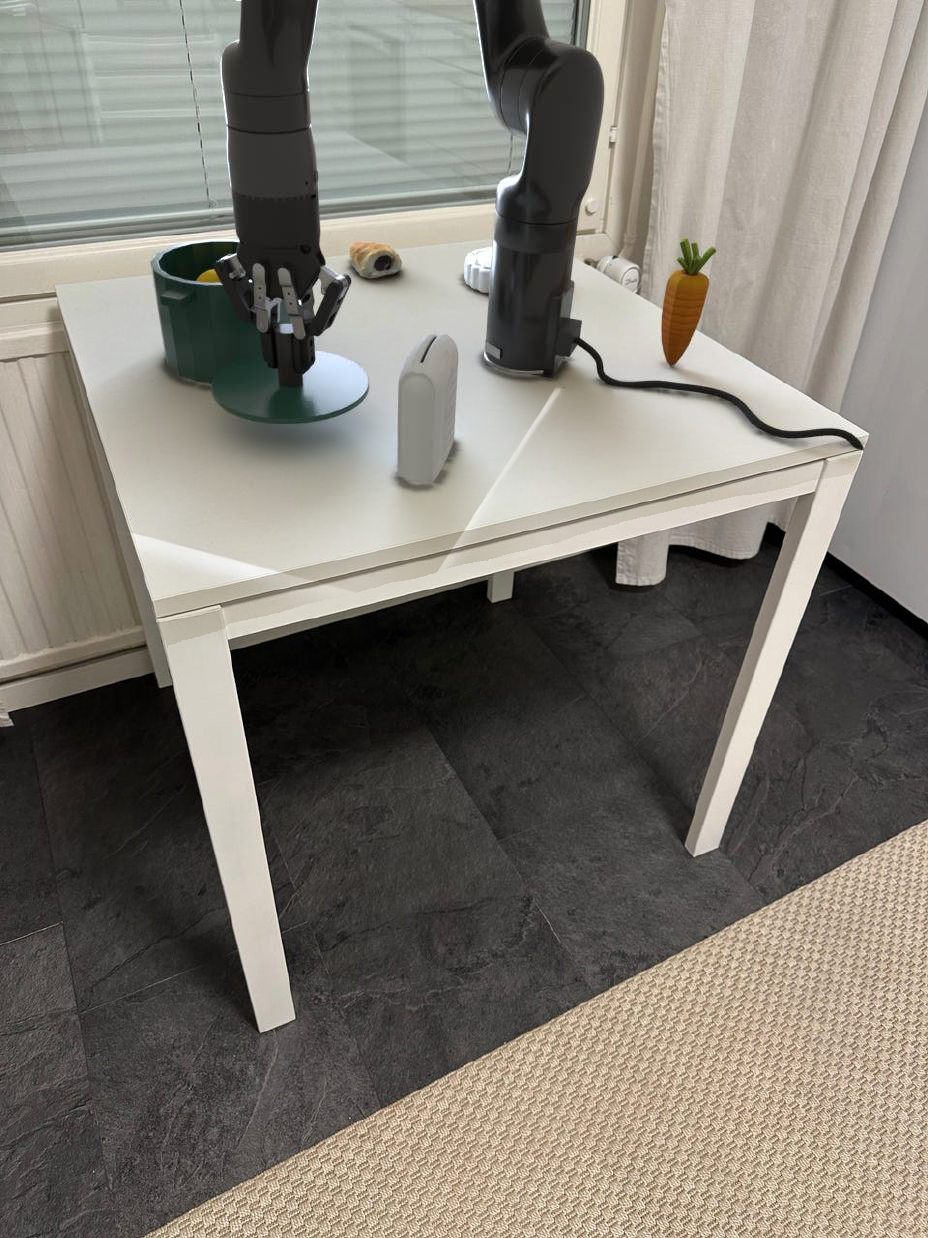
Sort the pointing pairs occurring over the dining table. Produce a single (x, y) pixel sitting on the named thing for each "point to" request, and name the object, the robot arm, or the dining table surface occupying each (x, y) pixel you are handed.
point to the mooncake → (478, 269)
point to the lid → (289, 386)
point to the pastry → (374, 259)
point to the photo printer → (427, 407)
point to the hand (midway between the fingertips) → (290, 367)
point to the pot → (201, 311)
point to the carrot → (684, 301)
